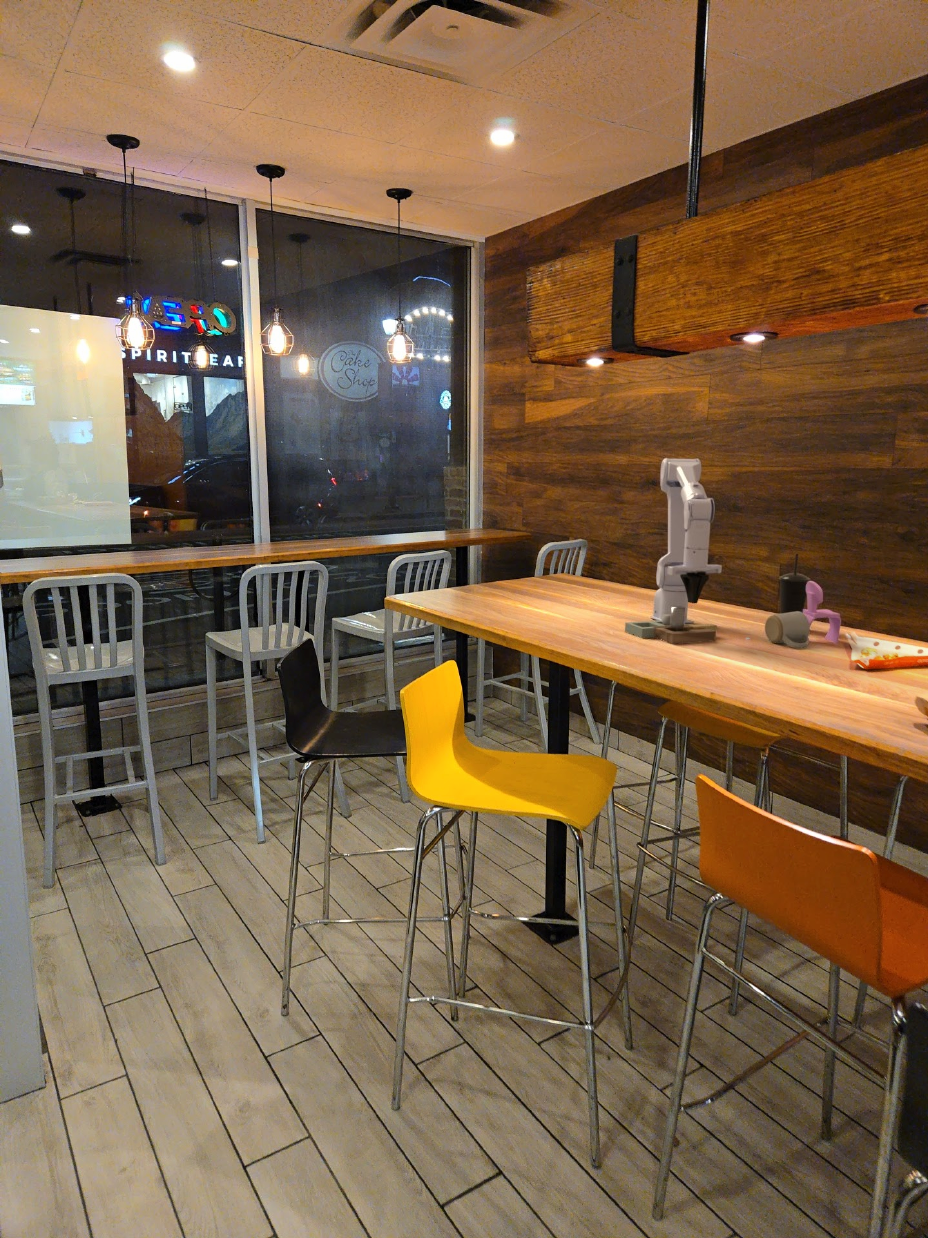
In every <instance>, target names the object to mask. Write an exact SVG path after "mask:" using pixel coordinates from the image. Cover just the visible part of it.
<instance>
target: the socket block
mask: <svg viewBox="0 0 928 1238" xmlns="http://www.w3.org/2000/svg"><path fill="white" fill-rule="evenodd" d="M685 624H686V626H684V631H678V632H673V631H670V625H666V626H651V627H654V628H655V627H658V628H655V631H654V637H653V638H654V639H657V638H658V639H657V640H660V639H662V640H661V641H663V640H664V641H663V642H665V641H667V642H666V643H669V644H671V643H672V644H671V645H674V644H673V643H678V644H689V643H688V642H692V643H700V642H699V641H705V642H715V641H716V637H715V633H716V634H717V630H716V631H713V630H710V629H695V630H688V626H687V625H696V624H694V623H685ZM667 626H668V627H667ZM659 627H660V628H659Z"/></svg>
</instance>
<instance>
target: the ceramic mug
mask: <svg viewBox="0 0 928 1238" xmlns="http://www.w3.org/2000/svg"><path fill="white" fill-rule="evenodd" d="M810 628H811V626H809V622H808V619H807V617H806V616H805V615H804V614H803V613H802V612H799V611H796V612H789V613H782V614H780V613H776V614H773V615H770V616H769V617H768V618H767V619H766V620H765V623H764V632H765V635H766V637H767V639H768V641H770V642H771V643H772V644H776V645H777V644H779V645H780V644H781V645H782V644H785V645H787V647H790V648H794V649H806V648H807V647H808V644H809V642H810V638H809V637H810V636H809V635H810V630H811V629H810ZM804 641H805V642H806V643H803V642H804Z"/></svg>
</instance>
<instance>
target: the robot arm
mask: <svg viewBox="0 0 928 1238" xmlns="http://www.w3.org/2000/svg"><path fill="white" fill-rule="evenodd" d="M701 475H702V462H701V460H700V459H699V458H668V457H664V459H663V460H662V461H661V465H660V481H659V482H660V490H661V491H662V492H664V493H665V494H666V497H667V498H666V499H667V553H666V554H665V555H663V556H661V557H660V559H659V560H658V562H657V569H656V574H655V575H656V578H655V579H656V585H657V586H658V588H659V589H657V590H656V591H655V593H654V598H653V610H652V611H653V614H652V616H650V619H652V620H654V621H658V620H663V614H671V606H682V607H685V619H684V624H694V620H692V619H688V612H689V611H688V608H689V603H690V604H698V602H699V598H700V597H701V596H700V595H701V593H702V590H703V588H704V587H705V585H706V584H707V582H708V581H709V579H710V576H709V574H721V573H722V570H723V568H722V567H723V565H721V564H708V561H709V560H708V559H709V547H710V532H711V523H713V521H714V518H715V502H714V498H712V497H708V496H707V494H706V491H705V488H704V486H703V485H702V484H701V483H700V482H699V481H700V479H701Z"/></svg>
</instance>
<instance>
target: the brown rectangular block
mask: <svg viewBox="0 0 928 1238" xmlns="http://www.w3.org/2000/svg"><path fill="white" fill-rule="evenodd" d="M717 627H718V625H717V624H714V623H700V624H695V625H688V630H695V629H710V630H713V631H716V633H715V638H716V637H717V629H718V628H717Z"/></svg>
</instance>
